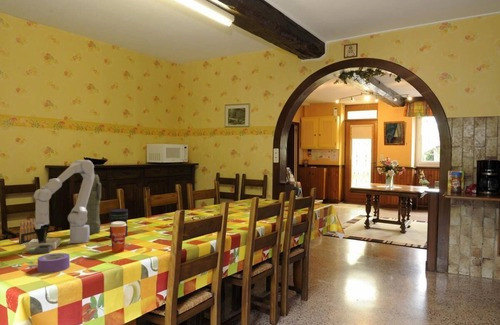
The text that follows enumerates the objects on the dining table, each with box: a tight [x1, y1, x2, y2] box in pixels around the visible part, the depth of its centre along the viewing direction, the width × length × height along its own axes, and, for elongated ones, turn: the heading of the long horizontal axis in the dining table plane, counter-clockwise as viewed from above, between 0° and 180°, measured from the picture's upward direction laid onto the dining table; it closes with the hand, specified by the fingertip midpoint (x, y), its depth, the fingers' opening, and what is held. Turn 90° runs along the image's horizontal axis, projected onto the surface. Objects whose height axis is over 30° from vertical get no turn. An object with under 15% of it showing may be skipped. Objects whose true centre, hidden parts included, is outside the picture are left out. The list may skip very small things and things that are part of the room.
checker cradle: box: [27, 245, 53, 255], centre depth 173 cm, size 9×6×2 cm, turn 105°
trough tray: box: [25, 237, 62, 251], centre depth 181 cm, size 13×10×3 cm
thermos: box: [85, 173, 102, 235], centre depth 214 cm, size 9×12×35 cm
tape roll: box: [37, 252, 71, 274], centre depth 150 cm, size 12×12×5 cm
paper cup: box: [109, 221, 128, 253], centre depth 177 cm, size 8×8×14 cm
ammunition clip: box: [18, 218, 38, 245], centre depth 192 cm, size 11×2×12 cm, turn 158°
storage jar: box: [109, 208, 129, 238], centre depth 208 cm, size 10×10×15 cm
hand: (42, 240), depth 179 cm, fingers closed on battery cell, 3 cm apart
